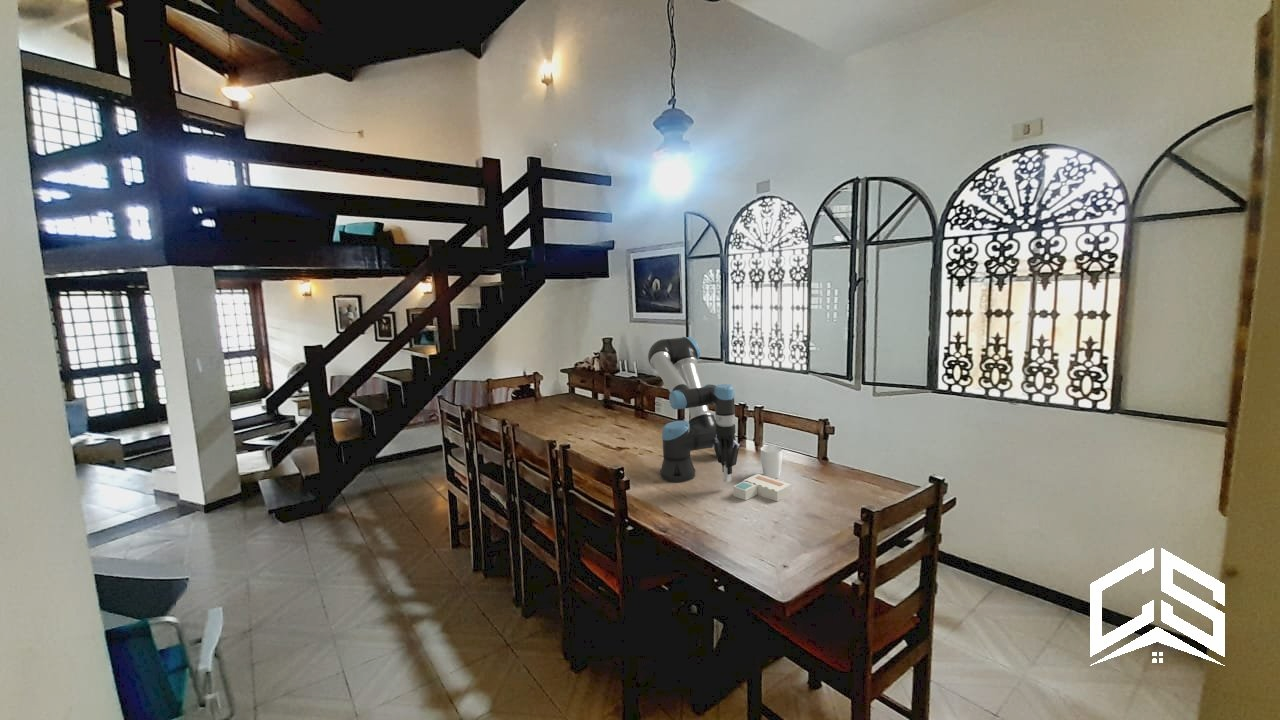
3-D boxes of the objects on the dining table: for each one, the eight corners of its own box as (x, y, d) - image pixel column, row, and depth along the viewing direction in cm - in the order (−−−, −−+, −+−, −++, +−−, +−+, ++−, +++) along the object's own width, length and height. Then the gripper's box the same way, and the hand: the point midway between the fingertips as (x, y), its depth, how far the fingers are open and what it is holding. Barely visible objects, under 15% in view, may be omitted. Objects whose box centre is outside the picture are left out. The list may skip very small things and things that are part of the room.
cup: (783, 480, 216) (783, 452, 214) (761, 480, 218) (760, 452, 216) (782, 472, 225) (781, 445, 223) (760, 471, 227) (759, 445, 225)
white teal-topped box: (733, 495, 204) (733, 485, 204) (744, 490, 209) (744, 480, 208) (745, 500, 200) (745, 490, 199) (757, 494, 204) (756, 484, 203)
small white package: (743, 489, 210) (743, 479, 209) (757, 482, 215) (757, 473, 215) (777, 501, 198) (777, 491, 197) (791, 494, 203) (791, 484, 203)
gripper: (706, 423, 209) (709, 479, 213) (732, 429, 199) (734, 488, 203) (719, 419, 214) (721, 474, 217) (744, 424, 204) (746, 482, 207)
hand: (727, 480), depth 210 cm, fingers closed
